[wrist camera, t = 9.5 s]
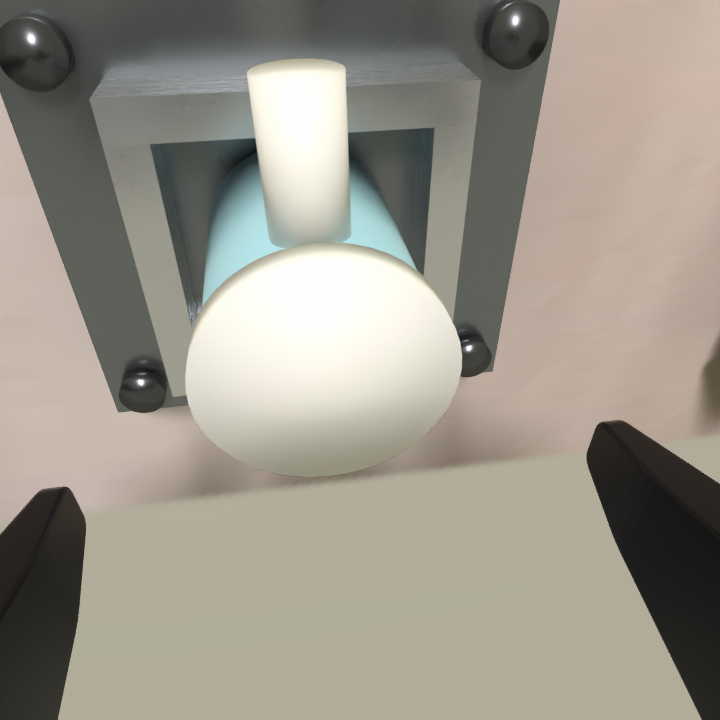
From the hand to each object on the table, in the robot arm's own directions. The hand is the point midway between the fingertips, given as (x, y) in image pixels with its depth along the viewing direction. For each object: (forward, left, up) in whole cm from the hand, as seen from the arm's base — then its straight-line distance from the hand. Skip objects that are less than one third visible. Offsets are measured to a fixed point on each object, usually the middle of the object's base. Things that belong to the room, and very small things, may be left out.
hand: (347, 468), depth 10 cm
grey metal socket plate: (0, 0, -12) cm, 12 cm away
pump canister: (0, +1, -9) cm, 9 cm away
